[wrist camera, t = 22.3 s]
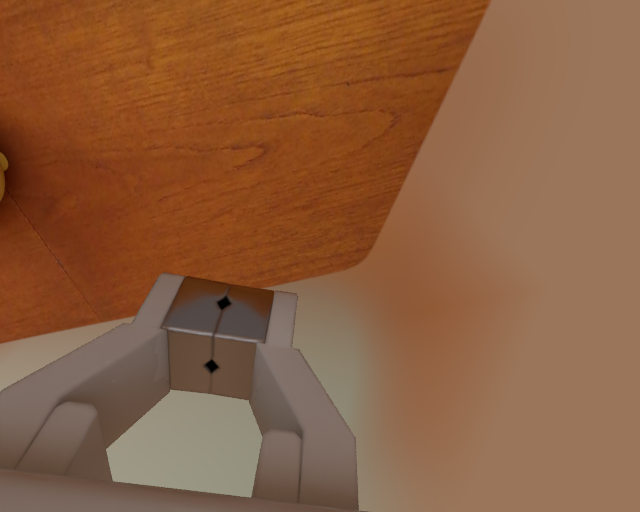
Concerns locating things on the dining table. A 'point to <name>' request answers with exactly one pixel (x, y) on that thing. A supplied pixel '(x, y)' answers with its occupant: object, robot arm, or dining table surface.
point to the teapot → (2, 174)
